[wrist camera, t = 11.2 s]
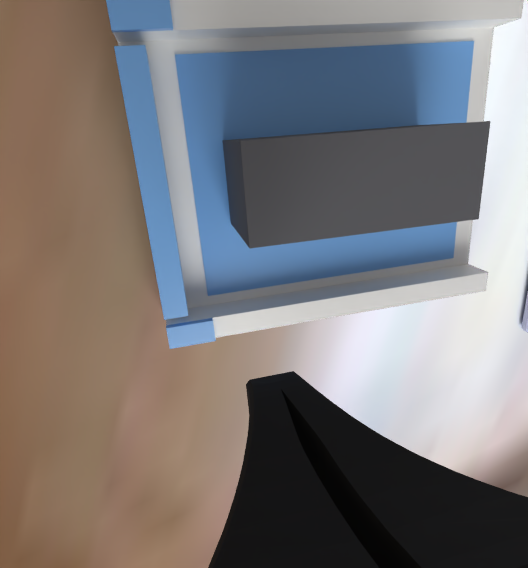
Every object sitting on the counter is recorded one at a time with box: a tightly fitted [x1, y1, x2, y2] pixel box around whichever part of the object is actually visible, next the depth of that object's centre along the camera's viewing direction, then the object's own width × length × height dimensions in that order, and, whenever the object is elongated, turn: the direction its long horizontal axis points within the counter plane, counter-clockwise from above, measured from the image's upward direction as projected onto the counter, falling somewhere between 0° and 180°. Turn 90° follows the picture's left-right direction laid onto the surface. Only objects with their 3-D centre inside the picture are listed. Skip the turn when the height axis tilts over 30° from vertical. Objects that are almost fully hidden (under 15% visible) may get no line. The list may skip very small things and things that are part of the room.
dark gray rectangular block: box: [222, 121, 490, 248], centre depth 16 cm, size 9×4×4 cm, turn 94°
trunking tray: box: [106, 0, 524, 349], centre depth 16 cm, size 16×25×3 cm, turn 4°
